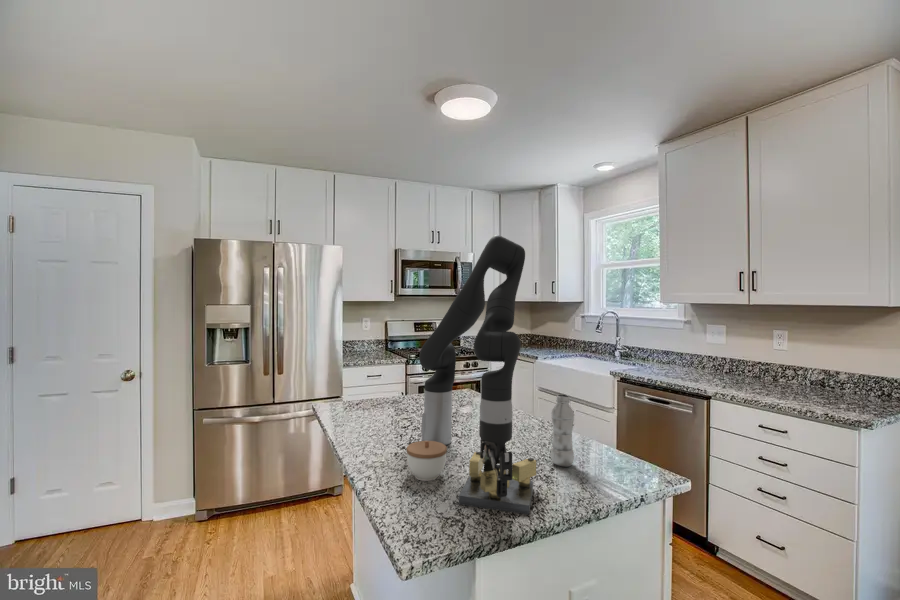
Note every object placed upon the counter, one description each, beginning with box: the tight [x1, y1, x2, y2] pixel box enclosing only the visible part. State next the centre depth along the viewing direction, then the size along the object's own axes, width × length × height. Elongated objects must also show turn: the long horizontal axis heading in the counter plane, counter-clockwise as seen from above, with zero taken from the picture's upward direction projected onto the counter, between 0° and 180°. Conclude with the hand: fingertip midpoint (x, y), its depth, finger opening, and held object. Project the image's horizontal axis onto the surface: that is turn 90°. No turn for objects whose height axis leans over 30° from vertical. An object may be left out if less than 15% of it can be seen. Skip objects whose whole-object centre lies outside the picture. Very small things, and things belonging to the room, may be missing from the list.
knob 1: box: [468, 451, 484, 481], centre depth 106 cm, size 6×3×6 cm, turn 165°
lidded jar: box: [406, 440, 448, 482], centre depth 112 cm, size 11×11×9 cm
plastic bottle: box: [550, 393, 575, 468], centre depth 121 cm, size 6×7×20 cm
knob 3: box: [512, 457, 537, 487], centre depth 103 cm, size 6×3×6 cm, turn 130°
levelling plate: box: [458, 476, 534, 515], centre depth 101 cm, size 16×13×3 cm
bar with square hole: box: [480, 470, 509, 498], centre depth 97 cm, size 6×3×6 cm, turn 115°
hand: (494, 487), depth 97 cm, fingers open, 8 cm apart
